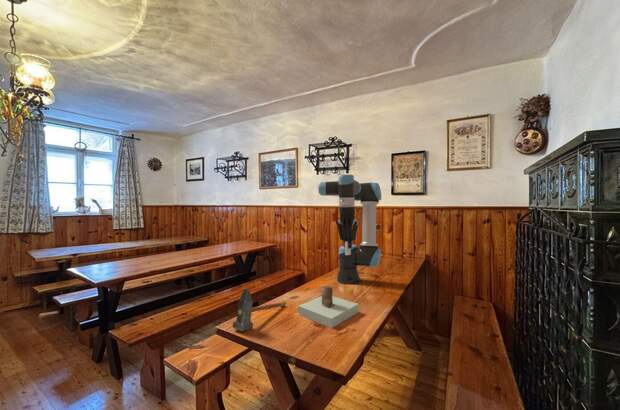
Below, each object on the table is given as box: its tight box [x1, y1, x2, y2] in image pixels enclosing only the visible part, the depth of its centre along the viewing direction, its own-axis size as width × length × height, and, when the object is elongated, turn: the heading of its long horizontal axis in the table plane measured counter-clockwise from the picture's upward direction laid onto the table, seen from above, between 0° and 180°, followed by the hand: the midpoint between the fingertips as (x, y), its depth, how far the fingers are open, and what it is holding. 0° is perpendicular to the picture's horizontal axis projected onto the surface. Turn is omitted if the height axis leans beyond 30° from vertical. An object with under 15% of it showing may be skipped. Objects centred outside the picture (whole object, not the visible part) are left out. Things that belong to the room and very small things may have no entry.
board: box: [297, 295, 359, 329], centre depth 121 cm, size 20×20×4 cm
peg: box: [320, 285, 333, 308], centre depth 121 cm, size 5×5×12 cm
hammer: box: [232, 288, 287, 332], centre depth 119 cm, size 6×16×30 cm
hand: (347, 254), depth 126 cm, fingers closed
